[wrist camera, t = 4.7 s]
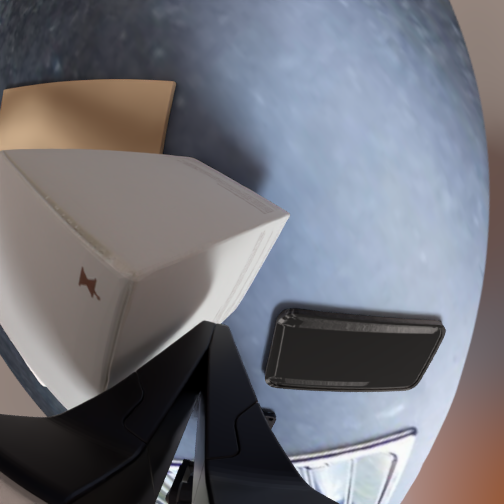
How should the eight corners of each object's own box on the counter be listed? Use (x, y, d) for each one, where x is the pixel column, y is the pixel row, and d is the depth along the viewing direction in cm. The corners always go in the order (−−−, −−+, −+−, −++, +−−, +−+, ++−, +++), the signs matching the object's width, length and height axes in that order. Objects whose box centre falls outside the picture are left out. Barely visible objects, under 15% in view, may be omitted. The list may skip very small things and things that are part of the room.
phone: (279, 311, 20) (449, 325, 20) (278, 303, 21) (444, 318, 21) (262, 387, 23) (414, 391, 23) (263, 378, 24) (410, 383, 24)
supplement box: (192, 154, 18) (-3, 139, 6) (294, 213, 16) (140, 282, 5) (150, 250, 20) (-12, 310, 8) (235, 312, 19) (96, 445, 7)
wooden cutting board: (147, 323, 22) (145, 327, 22) (7, 273, 22) (3, 275, 21) (176, 83, 16) (173, 81, 15) (8, 90, 15) (3, 89, 15)
